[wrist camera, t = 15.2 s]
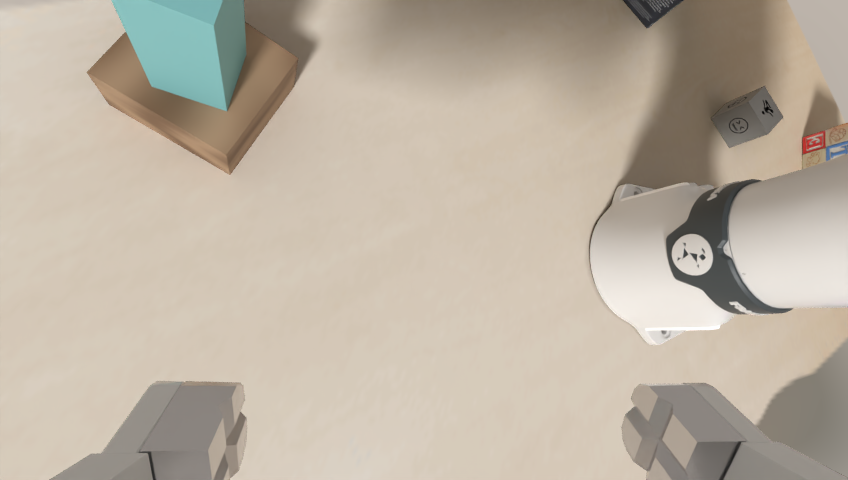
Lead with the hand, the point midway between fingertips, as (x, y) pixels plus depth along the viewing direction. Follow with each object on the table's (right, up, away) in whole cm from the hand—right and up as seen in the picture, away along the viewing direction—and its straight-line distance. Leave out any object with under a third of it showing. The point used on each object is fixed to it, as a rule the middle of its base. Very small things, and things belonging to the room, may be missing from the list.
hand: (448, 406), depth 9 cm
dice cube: (+43, +20, +52) cm, 70 cm away
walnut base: (-19, +16, +27) cm, 36 cm away
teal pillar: (-17, +16, +22) cm, 32 cm away
